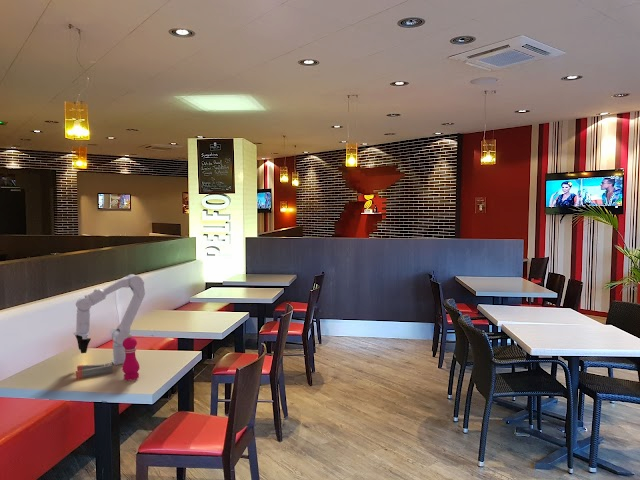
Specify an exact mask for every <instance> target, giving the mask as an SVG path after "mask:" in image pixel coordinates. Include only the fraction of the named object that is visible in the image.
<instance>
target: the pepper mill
mask: <svg viewBox="0 0 640 480" xmlns="http://www.w3.org/2000/svg"><path fill="white" fill-rule="evenodd" d="M127 337H128V338H126V339H124V341H123V347H124V348H125V349H124V352H125V361H124V363H123V364H122V372H123V373H124V375H123V379H124V380H125V381H134V380H136V379H138V378H139V377H140V373H139V371H140V363H139V362H138V361H139V360H138V359H137V357H136V356H137V355H136V352H137V345H138V341H137V339H136V338H135V337H132V334H131V333H129V334H128V335H127Z"/></svg>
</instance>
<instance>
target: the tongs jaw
mask: <svg viewBox="0 0 640 480" xmlns="http://www.w3.org/2000/svg"><path fill="white" fill-rule="evenodd" d="M102 366H105V364H84V365H83V364H82V365H77V366H76V368H77V369H76V371H80V370H85V369H91V368H96V367H102Z"/></svg>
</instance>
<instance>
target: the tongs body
mask: <svg viewBox="0 0 640 480" xmlns="http://www.w3.org/2000/svg"><path fill="white" fill-rule="evenodd" d="M112 363H113V362H112ZM112 363H111V362H109V363H108V362H107V363H105V364H104V366H102V367H96V368H91V369H85V370H80V371H77V370H75V379H76V380H82V379H86V378H92V377H97V376H102V375H108V374H112V373H113V364H112Z"/></svg>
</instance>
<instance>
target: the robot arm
mask: <svg viewBox="0 0 640 480" xmlns="http://www.w3.org/2000/svg"><path fill="white" fill-rule="evenodd" d="M123 288H127V289H128V288H130V291H131V292H132V294H133V296H132V297H131V300H130V302H129V304H128V306H127V308H126V311H125V312H124V315H123V317H122V319H121V322H120V323H119V325H117V327H116V329H114V331H113V332H112V334H111V339H112V341H113V343H112V352H113V353H112V356H113V357H112V358H113V359H112V360H111V362H112V363H113V364H112V365H114V366H116V365H117V366H118V365H121V364H122V365H123V364H124V361H125V352H124V349H125V348H124V347H123V341H124V339H126V338H128V337H127V335H128V334H131V326H132V325H133V322H134V320H135V318H136V315H137V313H138V311H139V309H140V306H141V305H142V303H143V300H144V298H145V296H146V292H145V281H144V280H143V278H142V277H141V276H140V275H136V274H133V273H130V274H128V275H126V276H124V277H122V278H120V279H118V280H117V281H115V282H113V283H111V284H110V285H108V286H107V287H105V288H98V289H96V288H95V289H94V290H93V291H92V292H90V293H88V294H85V295H84V296H83V297H79V298H78V299H77V300H76V302H75V306H76V308H77V310H76V330H75V332H73V335H74V336H75V338H76V341H77V346H78V350H80V353H81V354H86V353H87V351H88V348H89V347H88V346H89V344H90V342H91V340H92V338H91V337H89V335H90V333H91V330H90V328H91V327H90V323H91V322H90V321H91V312H90V309H91V308H92V306H95V305H97V304H99V303H100V302H102V301H104V300H106V298H107V296H108V295H110V294H112V293H113V292H115V291H118V290H120V289H123Z"/></svg>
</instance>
